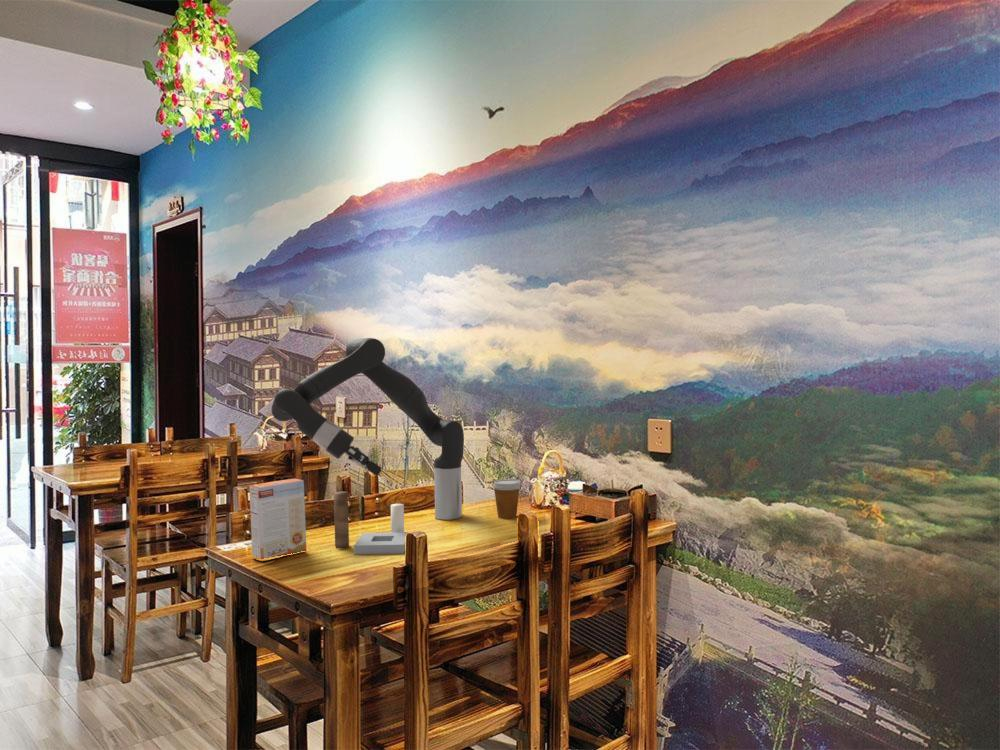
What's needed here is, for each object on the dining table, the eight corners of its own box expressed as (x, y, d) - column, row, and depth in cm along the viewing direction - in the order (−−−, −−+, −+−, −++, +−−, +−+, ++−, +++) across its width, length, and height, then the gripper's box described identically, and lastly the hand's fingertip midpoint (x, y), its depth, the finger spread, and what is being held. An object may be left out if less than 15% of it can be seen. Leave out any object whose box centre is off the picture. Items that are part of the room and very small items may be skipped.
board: (362, 541, 221) (362, 533, 221) (409, 540, 221) (409, 532, 221) (354, 554, 207) (353, 545, 207) (403, 553, 207) (403, 544, 207)
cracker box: (296, 548, 214) (294, 477, 213) (307, 552, 209) (305, 479, 209) (250, 559, 204) (248, 484, 203) (260, 563, 200) (258, 486, 199)
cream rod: (392, 535, 227) (391, 503, 227) (405, 535, 227) (404, 503, 227) (390, 539, 223) (389, 506, 223) (403, 538, 223) (402, 506, 223)
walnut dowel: (336, 545, 217) (335, 491, 216) (350, 545, 217) (349, 491, 216) (333, 549, 213) (332, 494, 212) (347, 548, 213) (346, 493, 212)
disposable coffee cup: (524, 518, 247) (523, 483, 246) (496, 520, 245) (496, 484, 244) (517, 512, 256) (516, 478, 256) (490, 514, 254) (489, 480, 253)
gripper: (340, 425, 202) (388, 460, 203) (342, 431, 216) (387, 463, 217) (323, 447, 201) (371, 482, 201) (326, 451, 214) (371, 484, 215)
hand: (379, 472), depth 209 cm, fingers open, 8 cm apart
